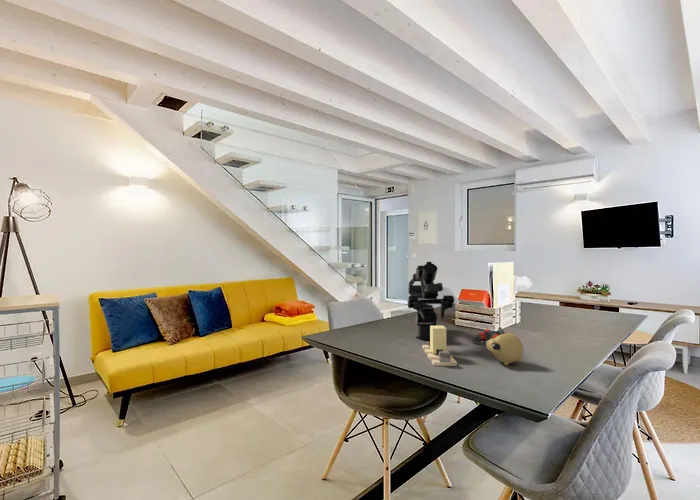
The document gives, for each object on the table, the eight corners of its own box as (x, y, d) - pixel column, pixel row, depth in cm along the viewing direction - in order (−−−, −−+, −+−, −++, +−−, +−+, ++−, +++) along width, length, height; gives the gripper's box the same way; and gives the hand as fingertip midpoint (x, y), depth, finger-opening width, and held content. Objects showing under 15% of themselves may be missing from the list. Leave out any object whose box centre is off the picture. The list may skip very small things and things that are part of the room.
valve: (466, 341, 158) (498, 337, 157) (486, 362, 132) (525, 357, 131) (464, 328, 158) (496, 323, 157) (483, 346, 132) (522, 340, 131)
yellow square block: (430, 350, 132) (430, 325, 132) (443, 350, 132) (443, 325, 132) (432, 354, 127) (432, 328, 127) (446, 354, 127) (446, 328, 127)
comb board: (422, 347, 140) (422, 337, 140) (442, 347, 140) (441, 337, 140) (433, 365, 118) (433, 353, 118) (456, 365, 118) (456, 353, 118)
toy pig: (482, 358, 126) (482, 329, 126) (515, 358, 126) (515, 329, 126) (493, 367, 116) (493, 336, 116) (528, 367, 116) (528, 336, 116)
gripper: (408, 276, 143) (412, 306, 132) (453, 276, 143) (460, 306, 132) (406, 292, 151) (409, 322, 140) (448, 292, 151) (455, 322, 140)
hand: (433, 318), depth 138 cm, fingers open, 7 cm apart
